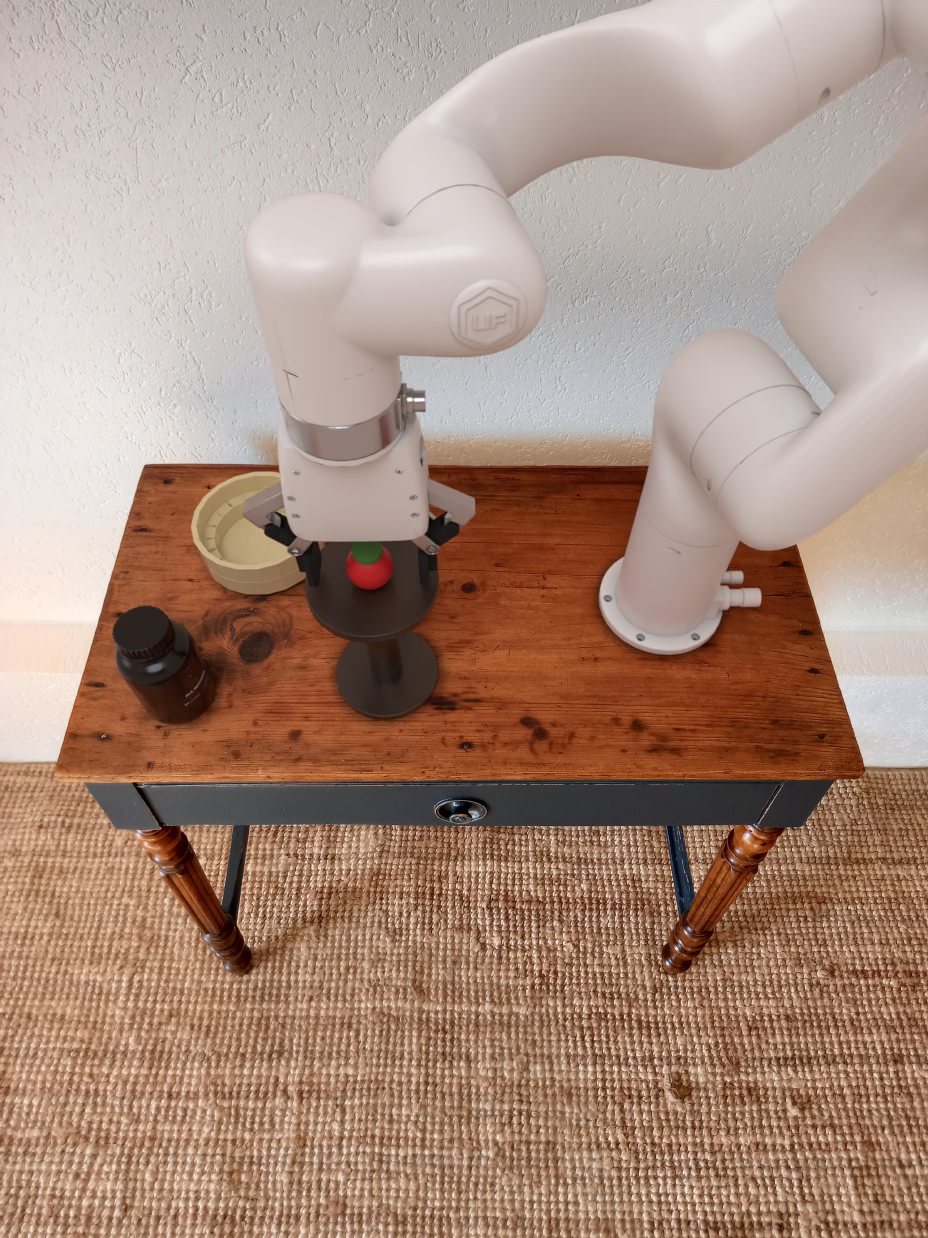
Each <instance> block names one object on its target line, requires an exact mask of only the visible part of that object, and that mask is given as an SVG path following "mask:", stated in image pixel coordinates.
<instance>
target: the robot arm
mask: <svg viewBox="0 0 928 1238" xmlns="http://www.w3.org/2000/svg"><path fill="white" fill-rule="evenodd" d="M900 58H907V59H909V60H910V61H911V62H913V63H914V64H915V65H917V66H918V67H919V68H920V69H922V70H923V71H925V72H926V73H927V74H928V0H651V1H648V2H646V3H644V4H641V5H638V6H634V7H630V8H626V9H623V10H618V11H613V12H610V13H606V14H602V15H600V16H597V17H594V18H591V19H588V20H585V21H582V22H579V23H577V24H574V25H570V26H568V27H565V28H562V29H559V30H556V31H552V32H549V33H546V34H544V35H541V36H537V37H535V38H532V39H530V40H527V41H525V42H522V43H519V44H517V45H515V46H513V47H511V48H510V49H508V50H505V51H503V52H501V53H499V54H498V55H497V56H495V57H492V59H489V60H488V61H486V62H484V63H483V64H482V65H480V66H479V67H477V68H476V69H475V70H473V71H472V72H471V73H469V74H468V75H466V76H465V77H463V79H461V80H460V81H459V82H458V83H456V84H454V86H452V87H451V88H450V89H448V91H446V92H444V94H442V95H441V96H440V97H439V98H437V99H436V100H435V101H433V102H432V103H431V104H430V105H428V106H427V107H426V108H425V109H424V110H422V111H421V112H420V113H419V114H417V115H416V117H414V118H413V119H412V120H411V121H410V122H409V123H407V124H406V126H404V127H403V128H402V129H401V130H400V131H399V133H398V134H396V136H395V137H394V138H393V139H392V140H391V142H390V143H389V144H388V146H387V147H386V148H385V150H384V151H383V152H382V154H381V156H380V157H379V159H378V162H377V163H376V165H375V167H374V170H373V173H372V176H371V179H370V182H369V191H368V205H367V204H366V203H364V202H363V201H361V200H359V199H357V198H355V197H352V196H349V195H347V194H343V193H339V192H335V191H325V190H324V191H321V190H320V191H317V190H316V191H315V190H314V191H305V192H298V193H294V194H289V195H286V196H284V197H282V198H279V199H276V200H275V201H273V202H271V203H269V204H268V205H267V206H265V207H264V208H263V209H262V210H260V211H259V212H258V213H257V214H256V215H255V216H254V218H253V219H252V221H250V224H249V226H248V227H247V230H246V233H245V236H244V242H243V256H244V257H243V258H244V262H245V267H246V272H247V277H248V281H249V286H250V288H251V292H252V293H251V294H252V296H253V300H254V304H255V308H256V313H257V317H258V320H259V325H260V328H261V332H262V336H263V340H264V345H265V348H266V352H267V357H268V360H269V364H270V369H271V372H272V377H273V380H274V385H275V389H276V393H277V396H278V401H279V406H280V411H279V413H278V416H277V437H276V438H277V461H278V471H279V472H278V473H280V480H281V482H279V483H277V484H275V485H273V486H272V487H270V488H268V489H266V490H264V491H262V492H260V493H258V494H256V495H254V496H252V497H250V498H248V499H246V500H245V505H244V510H243V516H244V517H245V518H246V519H247V520H249V521H250V522H251V523H253V524H254V525H255V526H257V527H258V528H262V529H263V530H264V534H265V535H266V536H267V537H269V538H271V539H273V540H275V541H277V542H279V543H281V544H283V545H284V546H286V547H288V548H287V552H288V553H289V554H290V555H292V556H295V557H296V561H297V564H298V568H299V571H300V572H306V576H307V580H308V583H309V587H317V585H319V581H320V571H321V562H322V556H321V551H320V547H319V543H318V541H326V542H349V541H402V540H411V541H412V542H413V543H414V544H416V545H417V546H418V565H419V578H420V584H422V585H423V586H429V571H437V569H438V570H439V568H438V564H439V561H438V554H439V553H440V552H441V547H442V546H443V545H445V544H446V543H448V542H449V541H451V540H452V539H453V538H456V537H457V536H458V535H459V534H460V532H461V529H462V528H463V527H465V526H466V525H467V524H468V523H469V522H470V521H471V520H472V519H473V518H474V517H475V516H476V514H477V511H476V510H477V507H476V506H477V504H476V503H477V502H476V498H475V497H473V496H471V495H469V494H467V493H464V492H462V491H460V490H457V489H455V488H452V487H450V486H448V485H445V484H443V483H441V482H438V481H436V480H433V479H431V478H430V472H429V464H428V456H427V449H426V445H425V444H426V443H425V439H424V435H423V431H422V427H421V423H420V420H419V417H418V414H417V413H426V412H427V393H426V389H414V387H408V384H407V382H403V372H402V371H401V359H400V356H405V357H406V356H407V357H429V358H431V357H432V358H475V357H476V358H477V357H483V356H485V357H486V356H488V355H493V354H498V353H500V352H503V351H505V350H508V349H510V348H512V347H514V346H516V345H517V344H519V343H521V342H522V341H523V340H525V339H526V337H528V336H529V335H530V334H531V333H532V332H533V331H534V329H536V327H537V325H538V324H539V322H540V320H541V319H542V317H543V315H544V312H545V309H546V307H547V301H548V293H549V291H548V289H549V288H548V287H549V286H548V285H549V284H548V278H547V273H546V269H545V266H544V263H543V261H542V258H541V256H540V254H539V251H538V249H537V247H536V245H535V244H534V242H533V240H532V239H531V237H530V235H529V233H528V232H527V230H526V229H525V227H524V225H523V224H522V222H521V220H520V219H519V217H518V215H517V213H516V210H515V207H514V206H513V205H512V203H511V201H510V200H509V199H510V198H511V197H512V196H514V195H515V194H516V193H518V192H519V191H520V190H522V189H524V188H525V187H526V186H528V185H529V184H531V183H532V182H534V181H535V180H537V179H539V178H540V177H542V176H544V175H546V174H548V173H550V172H552V171H554V170H556V169H558V168H561V167H564V166H566V165H568V164H571V163H574V162H579V161H582V160H586V159H592V158H599V157H628V158H638V159H642V160H648V161H653V162H658V163H664V164H667V165H668V164H669V165H673V166H680V167H686V168H692V169H700V170H705V171H706V170H707V171H721V170H727V169H731V168H735V167H736V166H738V165H741V164H743V163H744V162H746V161H747V160H748V159H750V158H751V157H752V156H754V155H755V154H757V153H759V152H760V151H761V150H763V149H764V148H765V147H767V146H768V145H770V144H771V143H773V142H774V141H776V140H777V139H779V138H780V137H782V136H783V135H785V134H786V133H788V132H789V131H790V130H792V129H793V128H794V127H795V126H797V125H798V124H800V123H801V122H803V121H804V120H805V119H807V118H808V117H810V116H811V115H813V114H815V113H816V112H817V111H819V110H821V109H822V108H823V107H825V106H827V105H828V104H830V103H831V102H833V101H834V100H836V99H837V98H839V97H840V96H842V95H843V94H844V93H846V92H847V91H849V90H850V89H852V88H854V87H855V86H857V85H858V84H860V83H861V82H862V81H864V80H866V79H867V78H868V77H870V76H873V74H875V73H876V72H878V71H879V70H881V69H883V68H884V67H885V66H887V65H888V64H890V63H891V62H893V61H895V60H897V59H900ZM773 300H774V310H775V313H776V316H777V320H778V321H779V323H780V325H781V327H782V328H783V330H784V332H785V334H786V335H787V336H788V338H789V339H790V340H791V342H792V343H793V345H794V346H795V347H796V348H797V350H798V351H799V353H800V354H801V355H802V357H804V359H805V360H806V361H807V363H808V364H809V365H810V366H811V367H812V368H813V370H814V371H815V372H816V374H817V375H818V376H819V378H820V379H821V380H822V381H823V382H824V384H825V385H826V386H827V388H828V389H829V390H830V391H831V392H832V394H833V395H834V397H833V398H832V400H831V401H830V403H829V404H828V405H827V406H826V407H825V408H824V409H823V410H822V409H821V408H820V407H819V405H818V404H817V403H816V401H815V400H814V399H813V397H812V395H811V393H810V392H809V390H808V389H807V388H806V387H805V385H804V383H802V382H801V380H800V379H799V378H798V376H797V375H796V374H795V373H794V371H792V369H791V368H790V366H789V365H788V364H787V363H786V362H785V360H784V359H783V358H782V357H781V355H779V354H778V353H777V351H776V350H774V348H773V347H772V346H770V345H769V344H768V343H767V342H766V341H764V340H763V339H762V338H760V337H759V336H756V335H755V334H752V333H751V332H748V331H745V330H742V329H737V328H719V329H714V330H710V331H706V332H704V333H702V334H700V335H698V336H696V337H695V338H693V339H691V340H690V341H689V342H687V343H686V344H685V345H684V346H682V348H680V349H679V350H678V351H677V352H676V353H675V355H674V356H673V357H672V359H671V360H670V361H669V362H668V364H667V366H666V367H665V368H664V371H663V374H662V375H661V378H660V380H659V384H658V386H657V390H656V393H655V398H654V405H653V413H652V431H651V432H652V436H651V451H650V456H649V457H650V458H649V462H648V468H647V472H646V476H645V480H644V483H643V487H642V491H641V494H640V498H639V503H638V506H637V509H636V513H635V516H634V520H633V524H632V527H631V531H630V535H629V539H628V542H627V546H626V549H625V553H624V556H622V557H620V558H619V559H618V560H616V561H615V562H614V563H612V565H610V567H609V568H608V569H607V570H606V572H605V574H604V576H603V578H602V579H601V583H600V587H599V592H598V606H599V609H600V612H601V616H602V617H603V619H604V621H605V623H606V625H607V626H608V627H609V628H610V630H611V631H612V633H614V634H615V635H616V636H617V637H618V638H619V639H621V640H622V641H623V642H624V643H626V644H628V645H629V646H631V647H633V648H635V649H638V650H640V651H643V652H646V653H650V654H655V655H665V656H673V655H681V654H685V653H688V652H692V651H693V650H696V649H698V648H699V647H701V646H703V645H704V644H706V642H708V641H709V640H710V639H711V638H712V636H713V635H714V634H715V633H716V631H717V629H718V627H719V625H720V623H721V621H722V620H721V619H722V617H723V611H728V610H729V609H730V607H740V608H759V607H760V606H761V604H762V591H761V589H760V588H759V587H740V588H730V587H729V586H728V585H742V584H743V582H744V576H745V575H744V572H743V571H742V570H728V567H729V565H730V563H731V561H732V559H733V557H734V555H735V553H736V550H737V548H738V546H739V543H740V542H741V543H742V544H744V545H745V546H748V547H749V548H752V549H754V550H757V551H765V552H771V551H773V552H774V551H779V550H783V549H788V548H790V547H793V546H796V545H799V544H800V543H802V542H804V541H806V540H807V539H809V538H811V537H813V536H815V535H816V534H818V533H820V532H821V531H822V530H824V529H826V528H827V527H829V526H830V525H831V524H833V523H834V522H835V521H837V520H838V519H839V518H840V517H842V516H843V515H844V514H845V513H847V512H848V511H850V510H851V509H852V508H853V507H855V506H857V504H859V503H860V502H861V501H862V500H864V499H865V498H866V497H867V496H869V495H870V494H871V493H873V492H874V491H875V490H876V489H878V488H879V487H880V486H881V485H883V484H884V483H885V482H887V481H888V480H889V479H890V478H892V477H893V476H894V475H896V474H897V473H898V472H900V471H901V470H902V469H903V468H905V467H906V466H907V465H909V463H911V462H912V461H913V460H914V459H916V458H917V457H918V456H919V455H921V454H922V453H923V452H925V451H926V450H927V449H928V111H927V112H926V113H925V115H924V116H923V118H922V119H921V121H920V122H919V123H918V125H916V126H915V128H914V129H913V131H912V132H910V134H909V135H908V136H907V138H905V140H904V141H903V142H902V143H901V144H900V145H899V146H898V147H897V149H896V150H895V151H894V152H893V154H892V155H891V156H890V157H889V158H888V159H887V160H886V161H885V162H884V163H883V164H882V165H881V166H880V167H879V169H877V171H876V172H875V173H874V174H873V175H872V176H871V177H870V178H869V179H868V180H867V181H866V182H865V183H864V185H863V186H861V188H859V190H858V191H857V192H856V193H855V194H854V195H853V196H852V197H851V198H850V199H849V200H848V202H846V204H845V205H844V206H843V207H842V208H841V209H840V210H839V211H838V212H837V213H836V214H835V216H833V218H831V220H830V221H828V223H827V224H826V225H825V226H824V227H823V228H822V229H821V230H820V231H819V232H818V233H817V234H816V236H815V237H814V238H813V239H812V240H811V241H810V242H809V243H808V244H807V245H806V246H805V248H803V250H802V251H801V252H800V253H799V254H798V255H797V257H796V258H795V259H794V260H793V261H792V263H791V264H790V265H789V266H788V268H787V269H786V271H784V273H783V275H782V276H781V278H780V280H779V282H778V283H777V286H776V290H775V294H774V299H773ZM430 506H432V507H434V508H436V509H438V510H441V511H444V512H443V513H441V514H440V515H438V516H437V517H436V516H435V514H434V513H432V512H431V511H430ZM283 507H285V512H286V516H287V517H286V516H284V515H282V514H281V513H279V512H275V511H277V510H279V509H281V508H283ZM727 570H728V571H727ZM727 584H728V585H727Z"/></svg>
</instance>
